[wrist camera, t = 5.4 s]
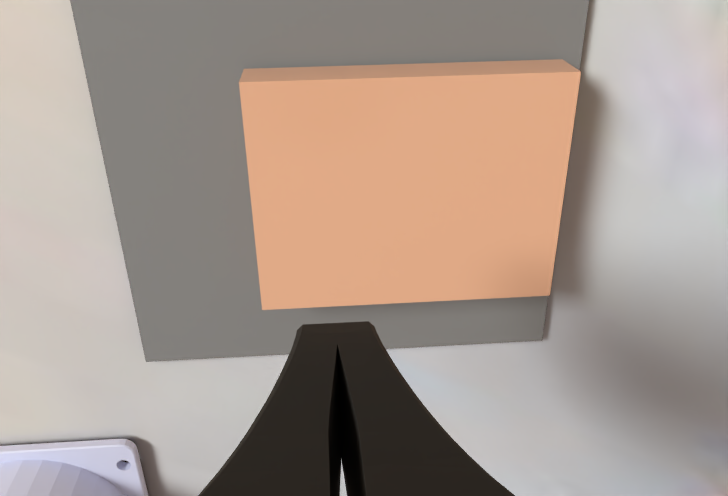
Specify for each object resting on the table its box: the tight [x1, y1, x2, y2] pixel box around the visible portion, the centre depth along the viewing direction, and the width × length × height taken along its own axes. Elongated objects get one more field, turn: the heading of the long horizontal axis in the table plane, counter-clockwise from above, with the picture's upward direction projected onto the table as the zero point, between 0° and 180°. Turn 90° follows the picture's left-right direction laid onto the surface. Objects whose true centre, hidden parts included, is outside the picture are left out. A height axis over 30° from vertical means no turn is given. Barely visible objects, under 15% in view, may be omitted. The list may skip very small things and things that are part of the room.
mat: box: [70, 0, 589, 362], centre depth 21 cm, size 13×14×1 cm
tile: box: [239, 59, 581, 310], centre depth 20 cm, size 7×2×9 cm
